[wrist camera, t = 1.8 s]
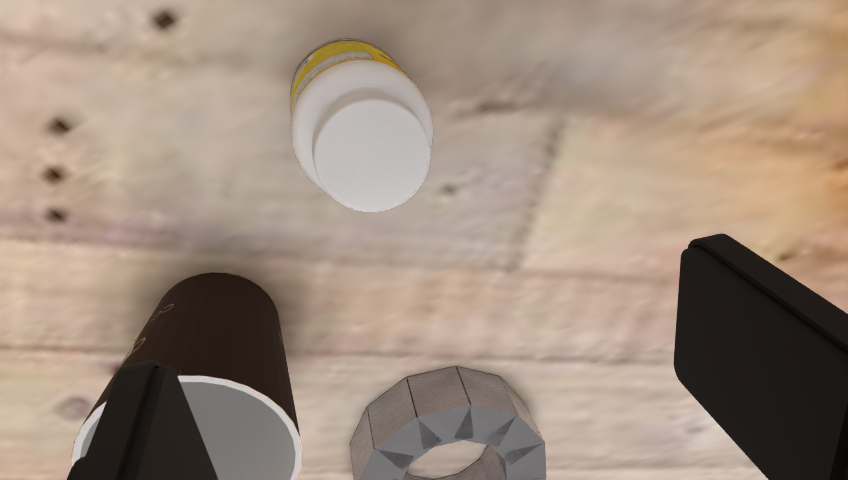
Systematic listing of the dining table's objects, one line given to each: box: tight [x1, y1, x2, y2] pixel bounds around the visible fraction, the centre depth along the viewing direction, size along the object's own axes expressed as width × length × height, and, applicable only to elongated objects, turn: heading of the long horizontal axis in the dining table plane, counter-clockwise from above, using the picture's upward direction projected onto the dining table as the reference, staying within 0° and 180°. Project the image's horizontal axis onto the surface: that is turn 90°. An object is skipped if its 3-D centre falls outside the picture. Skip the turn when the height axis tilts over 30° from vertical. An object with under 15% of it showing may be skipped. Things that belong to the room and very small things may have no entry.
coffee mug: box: [71, 273, 303, 480], centre depth 29 cm, size 12×9×10 cm
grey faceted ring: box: [350, 366, 546, 480], centre depth 38 cm, size 12×12×4 cm
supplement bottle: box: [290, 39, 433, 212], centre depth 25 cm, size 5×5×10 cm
